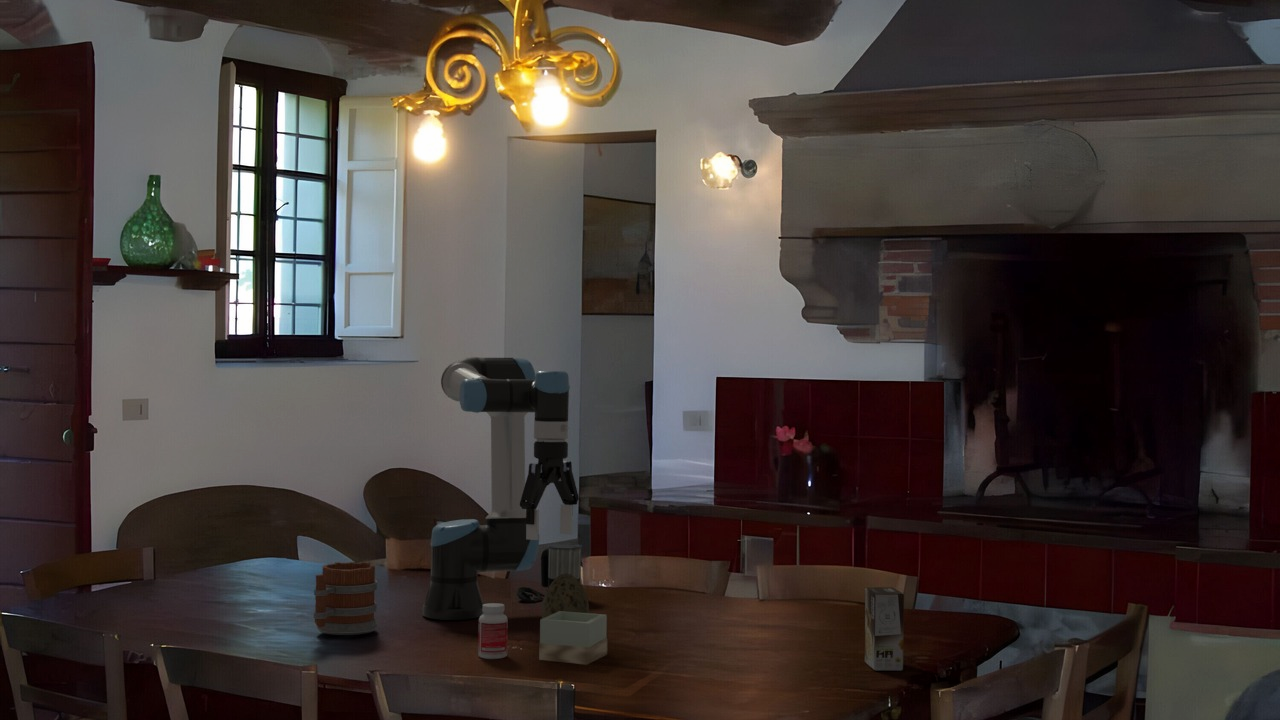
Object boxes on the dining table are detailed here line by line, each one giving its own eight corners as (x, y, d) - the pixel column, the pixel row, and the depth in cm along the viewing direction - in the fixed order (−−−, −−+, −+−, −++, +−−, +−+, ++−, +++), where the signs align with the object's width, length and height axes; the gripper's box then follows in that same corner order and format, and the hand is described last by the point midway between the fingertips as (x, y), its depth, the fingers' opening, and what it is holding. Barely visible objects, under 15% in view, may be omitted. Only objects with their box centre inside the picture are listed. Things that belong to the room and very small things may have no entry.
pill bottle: (512, 657, 284) (513, 605, 284) (486, 661, 281) (487, 608, 281) (498, 652, 289) (499, 601, 289) (473, 655, 286) (474, 603, 286)
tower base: (539, 661, 283) (539, 643, 283) (560, 652, 293) (561, 633, 293) (586, 666, 279) (587, 647, 279) (607, 656, 289) (607, 638, 289)
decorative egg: (570, 646, 297) (571, 578, 297) (531, 640, 303) (532, 574, 303) (597, 638, 306) (598, 572, 306) (559, 632, 312) (560, 568, 312)
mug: (389, 627, 316) (391, 563, 316) (342, 641, 298) (343, 574, 298) (340, 621, 321) (341, 559, 321) (290, 635, 303) (291, 569, 303)
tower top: (539, 643, 283) (540, 619, 283) (559, 633, 293) (559, 611, 293) (588, 647, 279) (589, 623, 279) (606, 637, 290) (606, 614, 290)
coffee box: (904, 671, 278) (905, 593, 278) (874, 671, 277) (875, 593, 277) (892, 661, 287) (893, 586, 287) (862, 661, 286) (864, 586, 287)
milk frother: (588, 600, 357) (589, 544, 357) (553, 608, 343) (554, 551, 343) (545, 594, 364) (546, 540, 364) (509, 602, 351) (510, 546, 351)
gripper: (533, 443, 283) (532, 543, 283) (594, 439, 305) (593, 532, 305) (504, 441, 287) (502, 540, 287) (566, 438, 309) (565, 530, 308)
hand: (549, 536), depth 296 cm, fingers open, 13 cm apart
